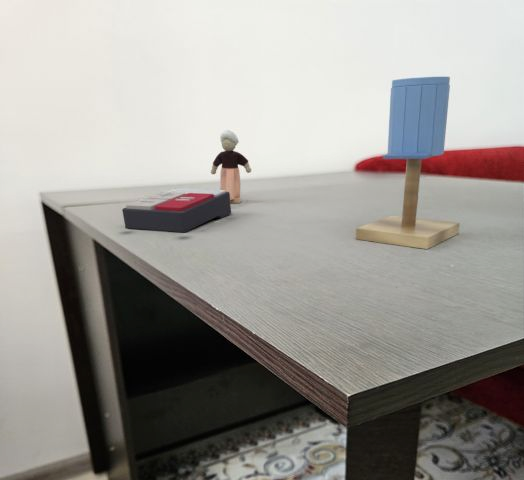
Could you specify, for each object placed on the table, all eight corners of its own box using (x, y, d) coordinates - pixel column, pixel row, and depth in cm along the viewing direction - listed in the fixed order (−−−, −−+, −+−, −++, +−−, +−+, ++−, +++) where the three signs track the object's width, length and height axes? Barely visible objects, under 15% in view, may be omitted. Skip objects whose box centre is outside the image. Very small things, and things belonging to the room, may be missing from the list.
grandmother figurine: (211, 204, 98) (206, 131, 92) (213, 201, 101) (208, 130, 96) (252, 203, 98) (249, 130, 92) (252, 200, 101) (250, 129, 96)
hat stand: (390, 225, 76) (400, 88, 69) (458, 234, 70) (477, 84, 63) (355, 239, 69) (362, 88, 62) (427, 249, 63) (444, 83, 56)
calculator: (119, 203, 79) (174, 185, 91) (124, 232, 81) (177, 210, 93) (181, 207, 74) (230, 186, 86) (185, 236, 76) (232, 213, 88)
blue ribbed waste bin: (395, 153, 70) (399, 81, 66) (446, 152, 67) (454, 77, 63) (376, 159, 62) (380, 79, 59) (433, 158, 59) (440, 74, 56)
